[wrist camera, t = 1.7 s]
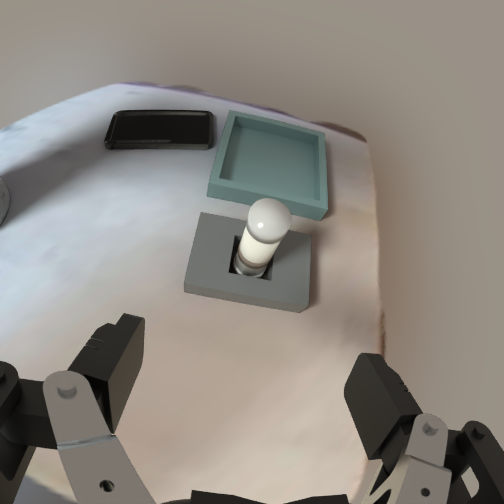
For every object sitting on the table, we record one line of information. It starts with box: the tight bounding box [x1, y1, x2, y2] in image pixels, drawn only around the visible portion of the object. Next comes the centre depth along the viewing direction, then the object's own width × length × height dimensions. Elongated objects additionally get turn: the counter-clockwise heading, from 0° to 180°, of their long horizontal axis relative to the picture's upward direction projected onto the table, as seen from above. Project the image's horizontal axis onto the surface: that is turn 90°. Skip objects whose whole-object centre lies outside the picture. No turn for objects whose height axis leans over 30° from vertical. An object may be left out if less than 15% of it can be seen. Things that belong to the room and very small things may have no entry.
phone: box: [104, 110, 213, 150], centre depth 39 cm, size 8×1×15 cm
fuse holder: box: [184, 212, 311, 313], centre depth 32 cm, size 12×8×2 cm, turn 83°
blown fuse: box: [232, 198, 292, 279], centre depth 28 cm, size 3×3×10 cm
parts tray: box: [207, 110, 328, 221], centre depth 39 cm, size 14×14×2 cm
